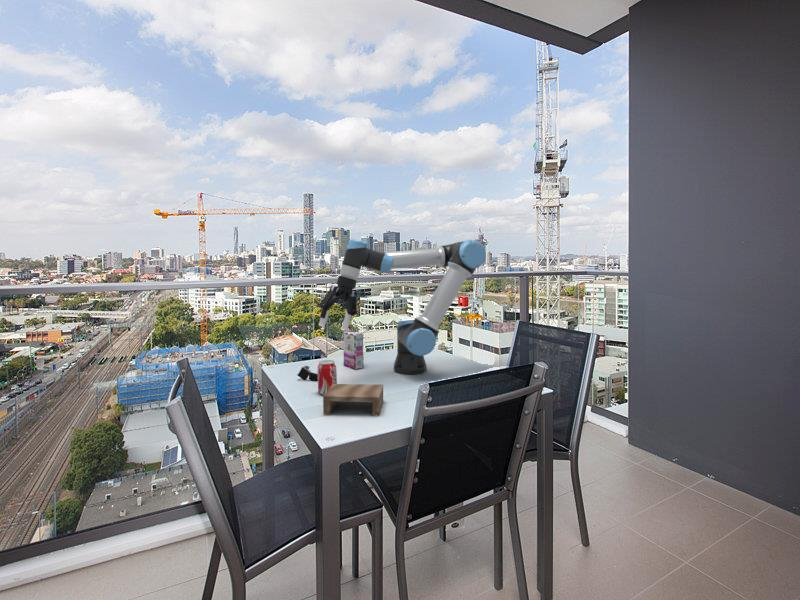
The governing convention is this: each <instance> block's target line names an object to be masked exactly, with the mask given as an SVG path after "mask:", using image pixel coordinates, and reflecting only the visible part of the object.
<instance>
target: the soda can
mask: <svg viewBox="0 0 800 600" xmlns="http://www.w3.org/2000/svg"><path fill="white" fill-rule="evenodd" d="M337 373H338V372H337V365H336V364H335V361H334V360H329V359H328V360H326V359H325V360H320V361H319V362H318V365H317V373H316V374H318V381H317V391H318V393H319V394H320V395H321V396H324V395H325V393H326V392H327V391H328V390H329V388H330V387H331V386H332V384H338V381H337V380H338V378H337V377H338V376H337V375H338V374H337Z"/></svg>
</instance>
